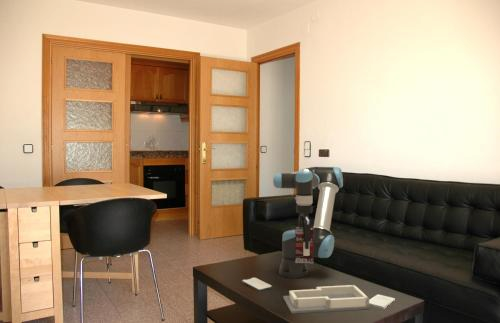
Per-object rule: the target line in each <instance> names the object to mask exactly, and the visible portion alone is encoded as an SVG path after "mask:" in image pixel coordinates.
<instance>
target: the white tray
mask: <svg viewBox="0 0 500 323" xmlns="http://www.w3.org/2000/svg"><path fill="white" fill-rule="evenodd" d="M288 294H289V295H283V297H282V298H283V301H284V303H286V306H287V308H288V309H289V312H290V313H291V314H309V313H311V314H312V313H326V312H327V313H328V312H329V313H330V312H341V311H345V312H346V311H359V310H363V311H364V310H370V307H371V306H369V300H370V297H369V296H367V295H366V294H365V293H364V292H363V291H362V290H361V289H360V288H359V287H357V286H356V285H355V284H347V285H346V284H345V285H332V286H331V285H327V286H316V287H315V289H314V288H310V289H296V290H295V289H294V290H293V289H292V290H288Z"/></svg>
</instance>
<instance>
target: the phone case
mask: <svg viewBox="0 0 500 323" xmlns="http://www.w3.org/2000/svg"><path fill="white" fill-rule="evenodd" d="M242 282H243V283H245V284H246V285H248V286H250V287H252V288H254V289H256V290H258V291H257V292H259V291H261V292H265V291H268V289H269V290H272V289H274V286H273V285H271V284H270V283H268V282H265V281H264V280H261V279H259V278H257V277H250V278H246V279H242V280H241V283H242ZM246 285H245V286H246ZM248 286H247V287H248ZM250 287H249V288H250ZM252 288H251V289H252ZM254 289H253V290H254ZM256 290H255V291H256ZM264 290H265V291H264Z"/></svg>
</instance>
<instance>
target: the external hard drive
mask: <svg viewBox="0 0 500 323" xmlns="http://www.w3.org/2000/svg"><path fill="white" fill-rule="evenodd" d="M393 301H394V302H395V301H396V298H395V297H391V296H388V295H383V294H376V295H374V296H373V297H372V298H369V307H373V308H376V307H378V308H377V309H380V308H381V310H385V309H386V308H387V306H388V305H389V306H391V303H392V302H393ZM394 302H393V303H394ZM393 303H392V304H393ZM389 306H388V307H389Z"/></svg>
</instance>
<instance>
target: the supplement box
mask: <svg viewBox="0 0 500 323" xmlns="http://www.w3.org/2000/svg"><path fill="white" fill-rule="evenodd" d="M294 230H295V263H306V264H314V262H315V261H314V258H315V257H314V228H313V227H311V241H310V242H309V252H310V256H303V242H302V241H304V235H303V227H299V226H296V227H295V229H294Z"/></svg>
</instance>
